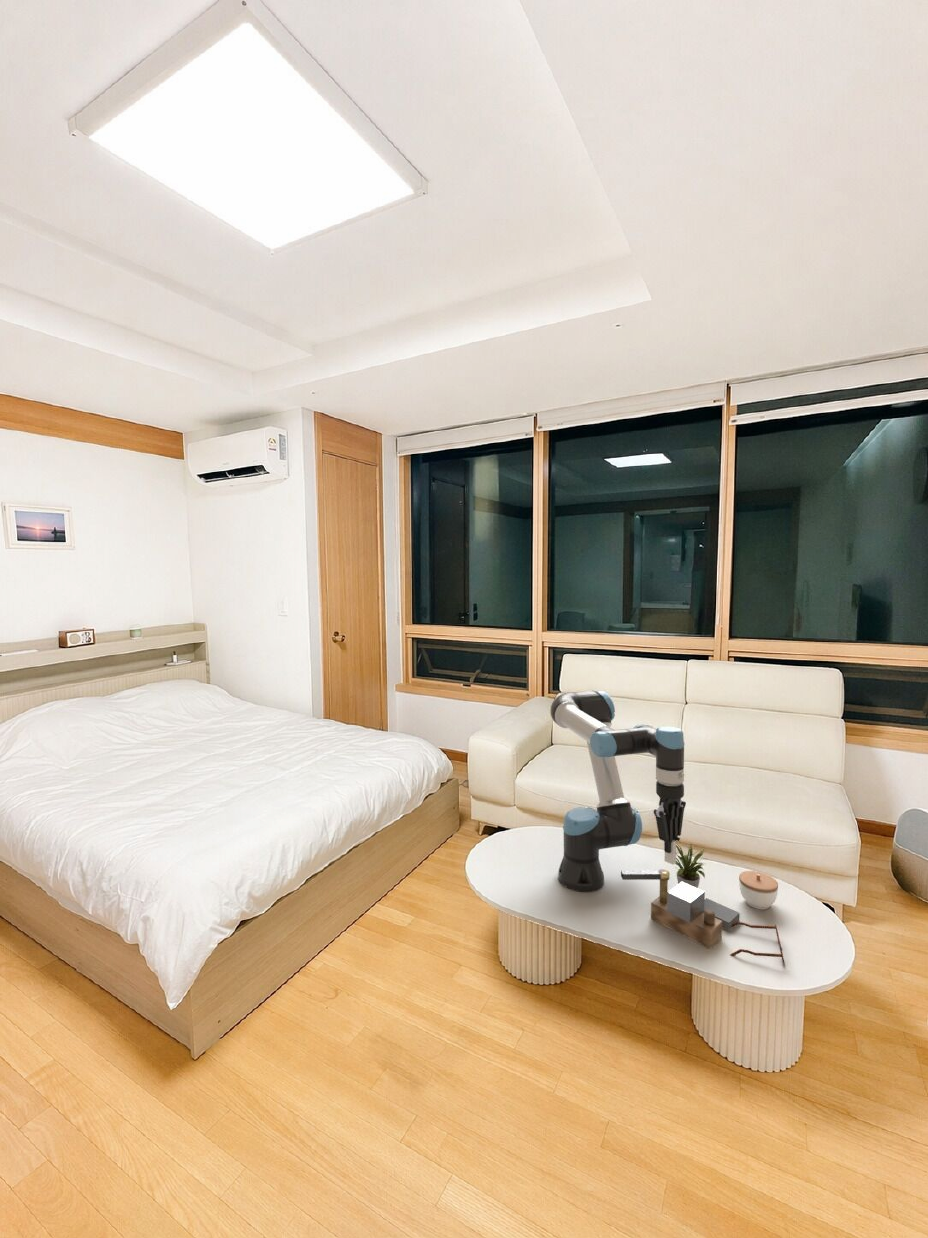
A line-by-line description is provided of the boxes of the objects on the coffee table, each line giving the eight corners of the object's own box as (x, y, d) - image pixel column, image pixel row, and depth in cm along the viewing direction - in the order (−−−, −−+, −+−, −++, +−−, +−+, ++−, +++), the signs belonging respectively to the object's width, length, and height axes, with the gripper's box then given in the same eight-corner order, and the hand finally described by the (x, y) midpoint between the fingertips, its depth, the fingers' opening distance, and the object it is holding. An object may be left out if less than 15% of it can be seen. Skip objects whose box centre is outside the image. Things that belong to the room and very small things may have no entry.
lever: (667, 874, 167) (667, 869, 167) (671, 880, 164) (671, 875, 164) (620, 875, 167) (620, 869, 167) (623, 880, 164) (623, 875, 164)
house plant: (656, 899, 175) (657, 849, 174) (663, 877, 188) (664, 831, 186) (705, 911, 169) (707, 860, 167) (709, 888, 181) (710, 840, 180)
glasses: (785, 969, 144) (786, 951, 144) (730, 957, 149) (730, 939, 149) (778, 939, 156) (779, 922, 156) (727, 928, 161) (728, 911, 161)
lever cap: (666, 912, 160) (667, 892, 160) (681, 900, 166) (681, 881, 165) (690, 923, 155) (690, 903, 155) (704, 911, 161) (704, 891, 160)
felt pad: (695, 915, 167) (695, 907, 167) (706, 905, 171) (706, 898, 171) (728, 931, 159) (729, 922, 159) (739, 921, 164) (739, 913, 164)
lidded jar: (772, 918, 165) (773, 888, 164) (733, 904, 172) (734, 875, 171) (781, 902, 173) (782, 874, 172) (744, 889, 180) (745, 862, 179)
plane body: (650, 918, 166) (651, 880, 165) (663, 909, 170) (663, 871, 169) (710, 949, 152) (711, 907, 151) (721, 937, 156) (722, 897, 155)
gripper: (668, 790, 151) (669, 874, 153) (694, 780, 159) (694, 860, 160) (645, 783, 157) (645, 864, 158) (671, 773, 165) (671, 850, 166)
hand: (670, 862), depth 159 cm, fingers closed
